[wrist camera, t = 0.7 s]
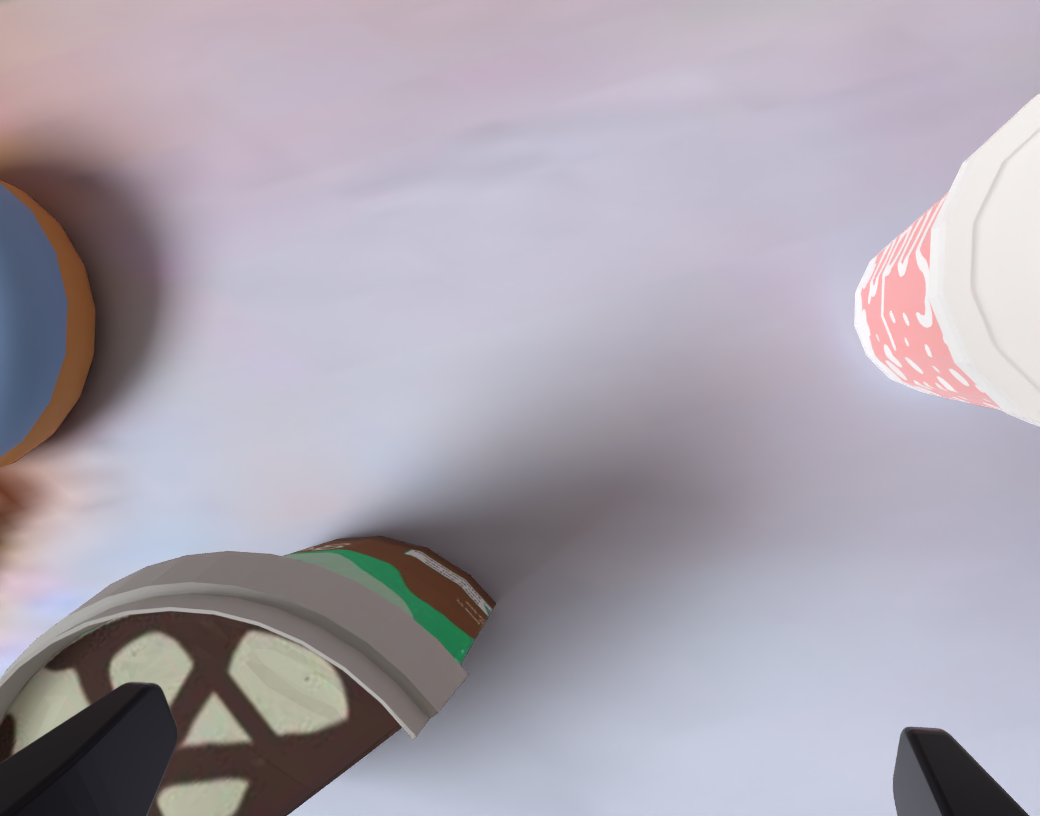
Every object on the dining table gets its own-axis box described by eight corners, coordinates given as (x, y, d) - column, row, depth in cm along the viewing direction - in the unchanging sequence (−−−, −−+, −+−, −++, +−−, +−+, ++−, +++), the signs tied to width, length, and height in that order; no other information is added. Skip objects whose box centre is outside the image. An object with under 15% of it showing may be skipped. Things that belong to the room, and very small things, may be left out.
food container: (408, 413, 23) (226, 436, 14) (534, 574, 23) (440, 719, 13) (133, 646, 25) (-200, 814, 16) (243, 799, 25) (-30, 1073, 15)
